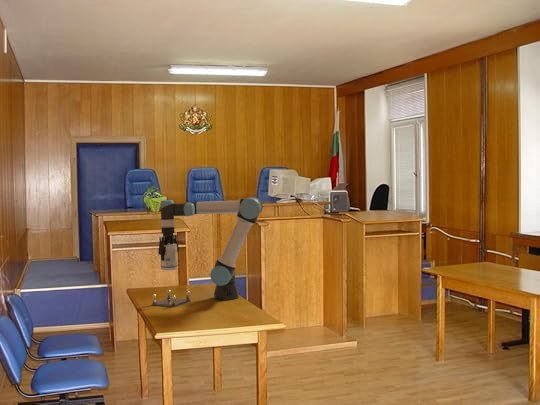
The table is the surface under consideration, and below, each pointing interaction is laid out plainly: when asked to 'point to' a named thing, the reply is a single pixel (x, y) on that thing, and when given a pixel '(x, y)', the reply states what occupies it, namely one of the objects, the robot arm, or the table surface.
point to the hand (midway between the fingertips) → (169, 264)
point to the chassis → (171, 300)
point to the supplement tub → (170, 257)
